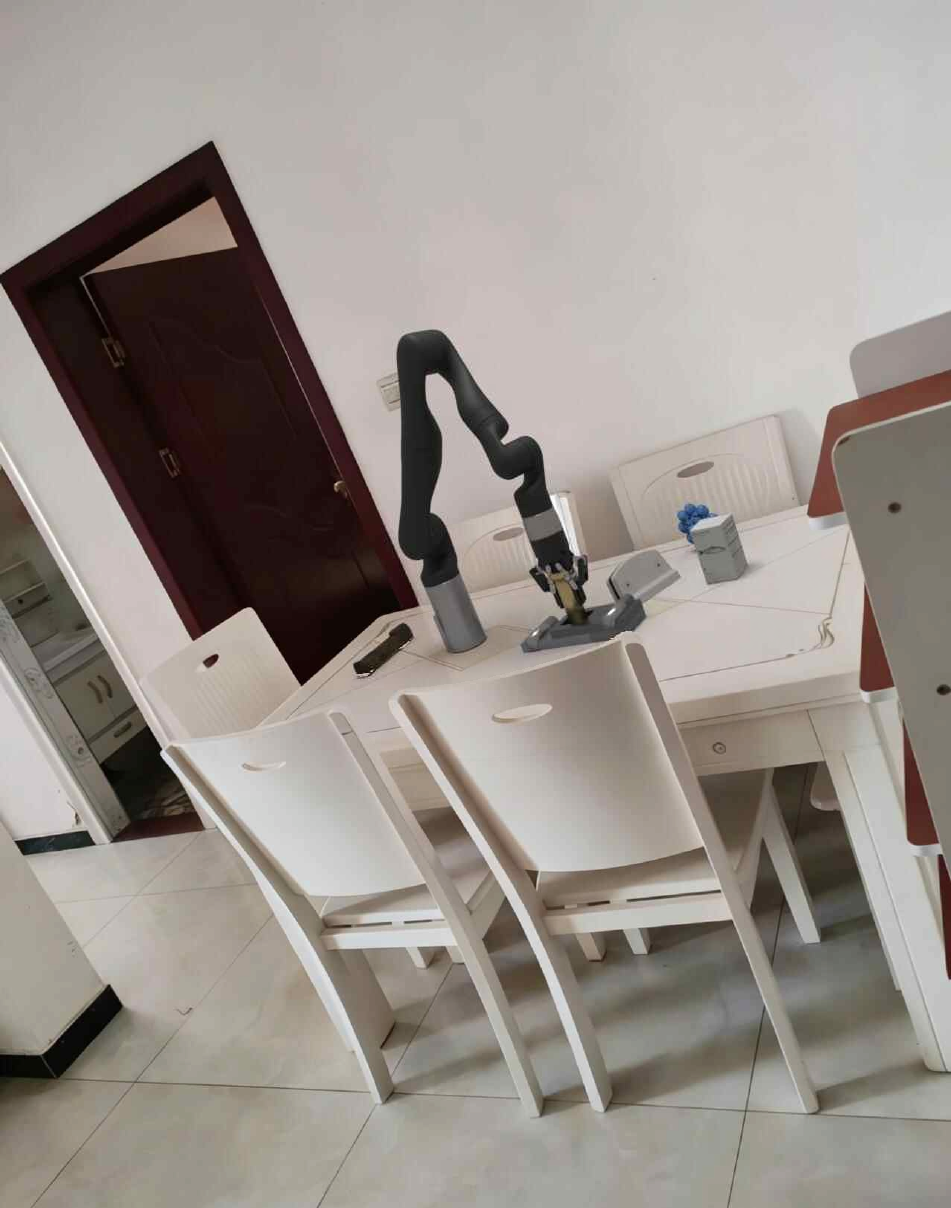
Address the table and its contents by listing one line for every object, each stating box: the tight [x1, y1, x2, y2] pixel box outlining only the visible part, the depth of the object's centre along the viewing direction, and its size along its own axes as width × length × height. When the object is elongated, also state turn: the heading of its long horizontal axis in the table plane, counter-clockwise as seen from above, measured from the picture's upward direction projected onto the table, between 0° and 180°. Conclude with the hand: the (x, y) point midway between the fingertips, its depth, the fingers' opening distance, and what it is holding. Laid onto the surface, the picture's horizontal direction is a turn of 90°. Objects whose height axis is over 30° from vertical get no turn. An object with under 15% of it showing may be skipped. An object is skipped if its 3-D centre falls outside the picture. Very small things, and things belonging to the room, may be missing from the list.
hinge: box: [605, 549, 682, 605], centre depth 212 cm, size 17×5×10 cm, turn 127°
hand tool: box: [352, 622, 414, 675], centre depth 243 cm, size 23×5×6 cm, turn 146°
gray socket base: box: [520, 594, 647, 653], centre depth 202 cm, size 26×11×6 cm, turn 57°
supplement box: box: [690, 513, 749, 585], centre depth 201 cm, size 7×7×13 cm
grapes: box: [676, 502, 719, 545], centre depth 224 cm, size 12×7×12 cm, turn 48°
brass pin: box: [549, 569, 588, 624], centre depth 200 cm, size 5×5×12 cm
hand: (573, 605), depth 201 cm, fingers closed on brass pin, 4 cm apart
